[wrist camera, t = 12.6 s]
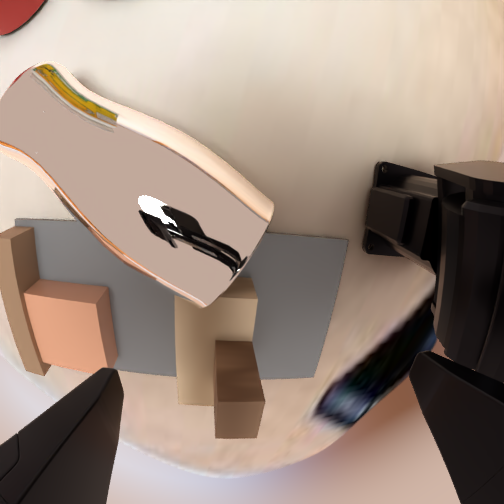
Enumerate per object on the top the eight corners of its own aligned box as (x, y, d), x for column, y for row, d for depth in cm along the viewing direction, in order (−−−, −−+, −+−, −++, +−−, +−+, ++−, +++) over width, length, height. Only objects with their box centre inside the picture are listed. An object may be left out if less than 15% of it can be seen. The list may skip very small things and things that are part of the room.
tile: (108, 286, 18) (95, 304, 15) (118, 355, 20) (109, 376, 17) (40, 278, 17) (23, 293, 14) (55, 344, 19) (43, 362, 16)
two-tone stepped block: (251, 277, 19) (275, 354, 11) (238, 379, 21) (250, 461, 14) (180, 273, 18) (160, 349, 10) (181, 377, 21) (174, 460, 13)
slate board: (346, 239, 19) (369, 254, 16) (312, 374, 23) (324, 401, 20) (16, 218, 15) (-10, 230, 12) (43, 352, 19) (27, 375, 16)
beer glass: (85, 46, 11) (285, 178, 15) (56, 133, 16) (218, 250, 19) (-8, 68, 6) (264, 261, 10) (-17, 178, 10) (181, 333, 14)
